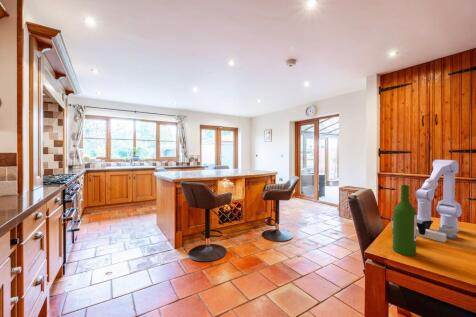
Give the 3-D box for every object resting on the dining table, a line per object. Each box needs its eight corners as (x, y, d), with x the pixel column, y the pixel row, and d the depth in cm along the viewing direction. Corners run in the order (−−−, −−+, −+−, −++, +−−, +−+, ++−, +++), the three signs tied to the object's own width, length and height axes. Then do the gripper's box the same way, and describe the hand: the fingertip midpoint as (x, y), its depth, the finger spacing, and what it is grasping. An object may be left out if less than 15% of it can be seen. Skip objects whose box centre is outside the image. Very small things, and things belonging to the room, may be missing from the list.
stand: (410, 225, 137) (410, 217, 137) (457, 237, 119) (457, 227, 118) (404, 228, 133) (405, 219, 133) (453, 240, 114) (453, 230, 114)
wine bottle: (417, 258, 96) (419, 187, 95) (393, 253, 100) (394, 185, 100) (414, 250, 103) (415, 184, 102) (391, 246, 108) (392, 183, 107)
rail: (406, 230, 129) (406, 224, 129) (446, 241, 114) (446, 233, 114) (403, 232, 127) (403, 225, 127) (444, 242, 112) (444, 235, 112)
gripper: (420, 206, 128) (419, 228, 128) (410, 210, 120) (410, 233, 120) (435, 209, 122) (435, 232, 122) (426, 213, 114) (426, 238, 114)
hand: (423, 233), depth 121 cm, fingers open, 5 cm apart
